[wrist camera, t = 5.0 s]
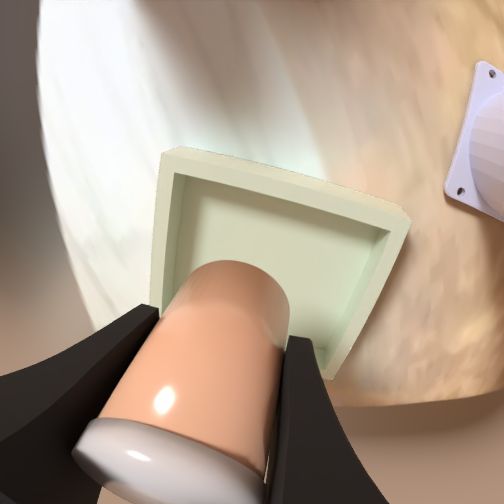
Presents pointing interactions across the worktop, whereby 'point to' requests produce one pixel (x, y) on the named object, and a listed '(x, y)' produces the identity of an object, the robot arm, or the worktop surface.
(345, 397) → the worktop surface
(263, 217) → the tray
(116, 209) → the worktop surface
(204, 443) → the shaker
